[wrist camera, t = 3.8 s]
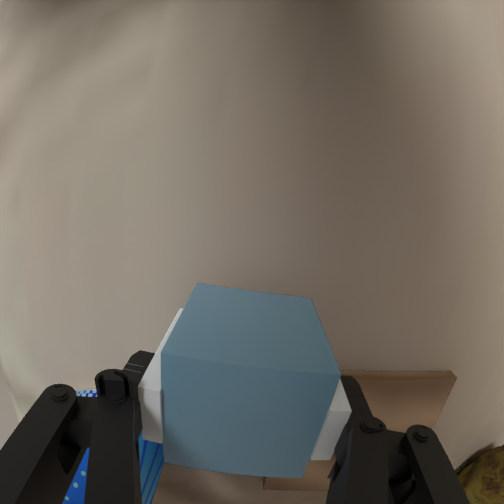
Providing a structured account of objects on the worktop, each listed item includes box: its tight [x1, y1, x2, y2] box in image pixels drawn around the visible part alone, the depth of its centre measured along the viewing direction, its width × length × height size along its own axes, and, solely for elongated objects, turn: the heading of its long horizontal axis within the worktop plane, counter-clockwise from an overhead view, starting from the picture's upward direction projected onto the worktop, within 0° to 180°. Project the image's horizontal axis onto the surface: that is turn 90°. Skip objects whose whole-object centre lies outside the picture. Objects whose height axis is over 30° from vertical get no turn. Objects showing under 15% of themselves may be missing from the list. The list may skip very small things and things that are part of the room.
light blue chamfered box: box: [161, 283, 341, 478], centre depth 13 cm, size 6×6×7 cm
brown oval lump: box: [457, 445, 504, 504], centre depth 18 cm, size 8×13×8 cm, turn 174°
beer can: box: [62, 389, 164, 504], centre depth 13 cm, size 8×8×16 cm
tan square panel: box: [263, 370, 457, 490], centre depth 17 cm, size 12×12×6 cm
